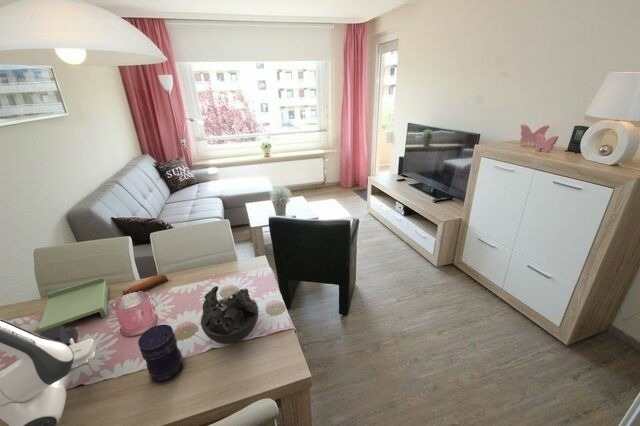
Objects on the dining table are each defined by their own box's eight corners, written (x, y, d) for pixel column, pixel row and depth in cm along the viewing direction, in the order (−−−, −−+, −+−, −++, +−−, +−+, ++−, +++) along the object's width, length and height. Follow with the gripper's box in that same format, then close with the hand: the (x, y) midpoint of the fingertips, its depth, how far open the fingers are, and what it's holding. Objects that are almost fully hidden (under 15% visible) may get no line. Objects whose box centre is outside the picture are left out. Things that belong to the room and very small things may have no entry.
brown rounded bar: (161, 273, 146) (161, 266, 141) (168, 284, 143) (167, 277, 139) (120, 291, 134) (118, 284, 130) (127, 303, 132) (125, 297, 127)
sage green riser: (43, 339, 111) (35, 325, 108) (53, 306, 128) (47, 293, 125) (106, 316, 120) (100, 303, 117) (108, 288, 137) (103, 276, 134)
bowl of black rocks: (268, 343, 104) (261, 301, 97) (209, 366, 96) (198, 323, 89) (254, 308, 121) (247, 271, 113) (203, 326, 113) (192, 286, 105)
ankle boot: (52, 373, 90) (36, 345, 86) (60, 341, 102) (46, 314, 98) (74, 365, 93) (59, 337, 88) (79, 334, 105) (66, 308, 100)
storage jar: (146, 386, 91) (131, 351, 85) (157, 359, 100) (144, 326, 94) (179, 380, 92) (167, 346, 86) (187, 354, 101) (177, 322, 95)
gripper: (90, 352, 85) (93, 323, 96) (-6, 390, 75) (9, 353, 86) (98, 368, 88) (100, 338, 99) (5, 406, 78) (19, 368, 89)
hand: (57, 345), depth 92 cm, fingers closed on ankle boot, 5 cm apart
